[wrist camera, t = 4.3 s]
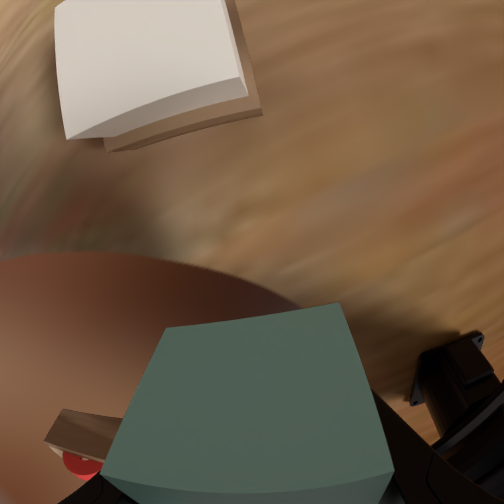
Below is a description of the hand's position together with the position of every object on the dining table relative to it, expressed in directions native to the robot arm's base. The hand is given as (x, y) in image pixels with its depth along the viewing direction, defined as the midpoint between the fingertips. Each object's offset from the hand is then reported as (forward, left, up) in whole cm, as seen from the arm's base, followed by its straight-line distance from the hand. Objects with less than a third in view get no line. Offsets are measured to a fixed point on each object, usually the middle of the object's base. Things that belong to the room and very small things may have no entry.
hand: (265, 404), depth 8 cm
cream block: (+12, +2, -6) cm, 14 cm away
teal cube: (0, 0, -1) cm, 1 cm away
